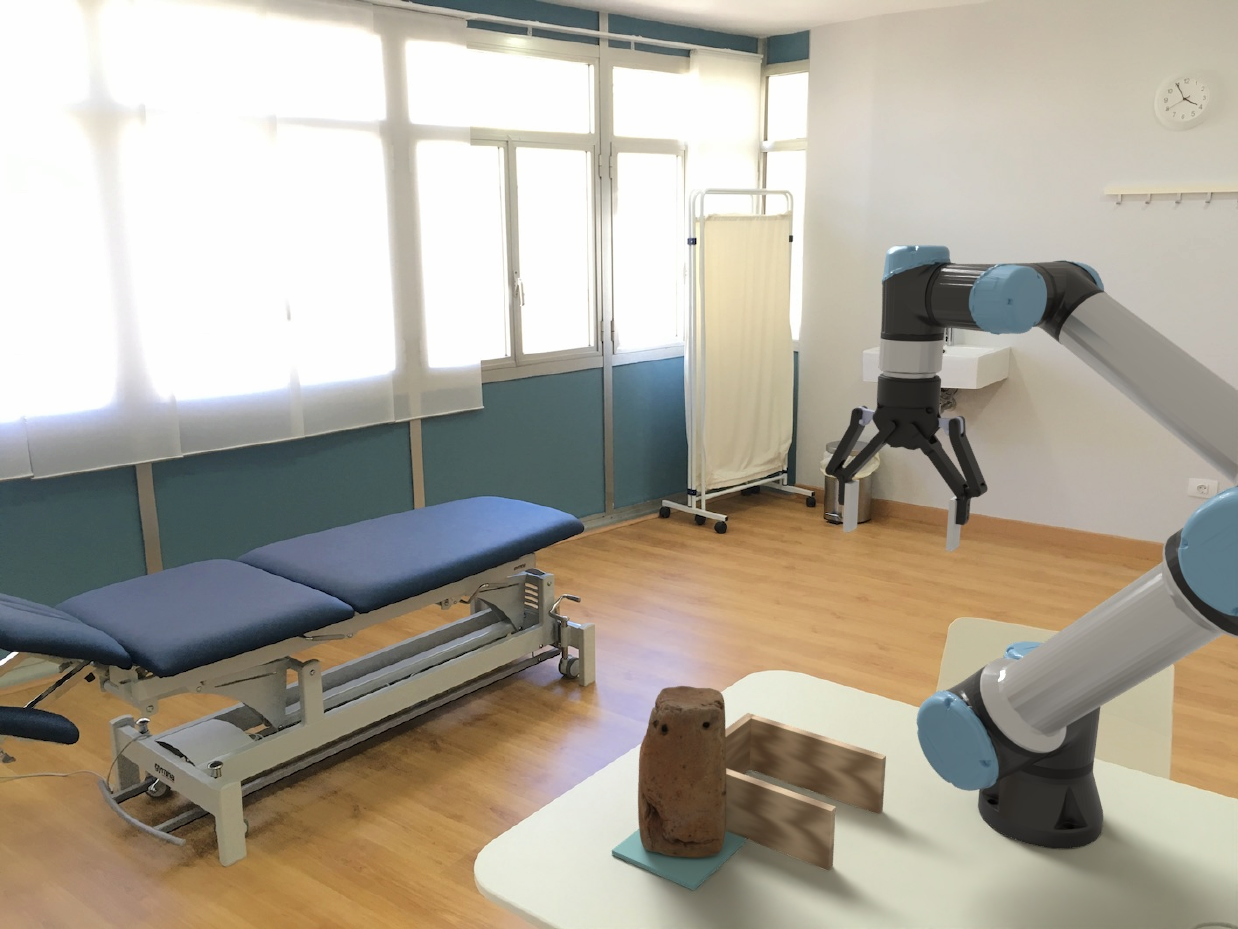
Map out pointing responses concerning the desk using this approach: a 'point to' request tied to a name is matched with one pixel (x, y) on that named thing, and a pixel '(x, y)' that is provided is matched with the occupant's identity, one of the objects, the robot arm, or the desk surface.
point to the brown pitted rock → (684, 774)
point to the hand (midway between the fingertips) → (899, 539)
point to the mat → (677, 860)
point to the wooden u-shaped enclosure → (802, 763)
